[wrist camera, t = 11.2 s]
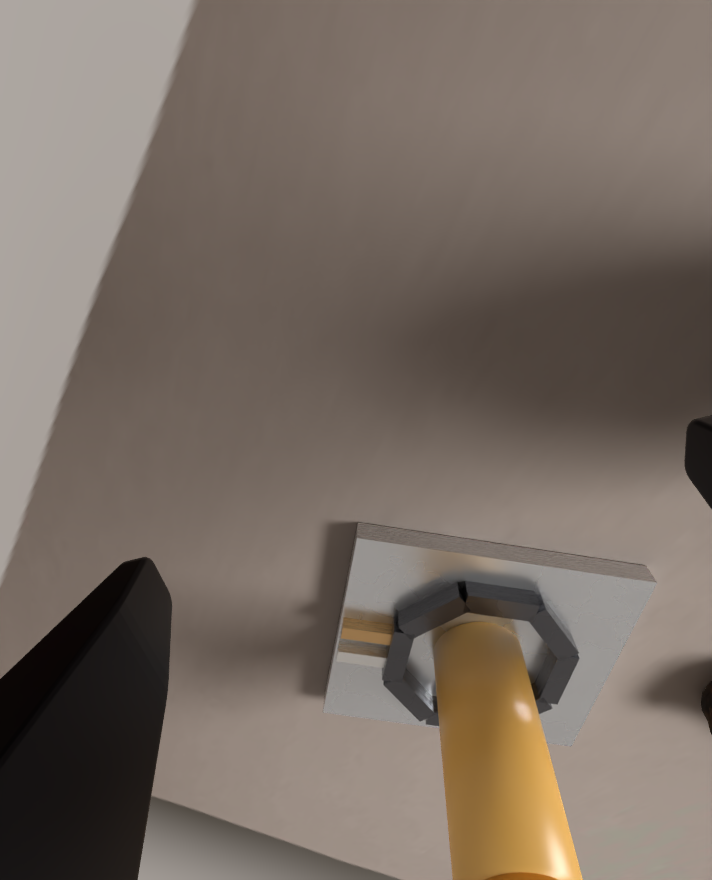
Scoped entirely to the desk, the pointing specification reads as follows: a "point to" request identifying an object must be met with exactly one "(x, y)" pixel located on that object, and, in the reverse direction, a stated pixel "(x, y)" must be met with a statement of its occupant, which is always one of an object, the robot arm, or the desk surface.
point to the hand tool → (707, 704)
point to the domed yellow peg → (497, 762)
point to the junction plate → (477, 600)
